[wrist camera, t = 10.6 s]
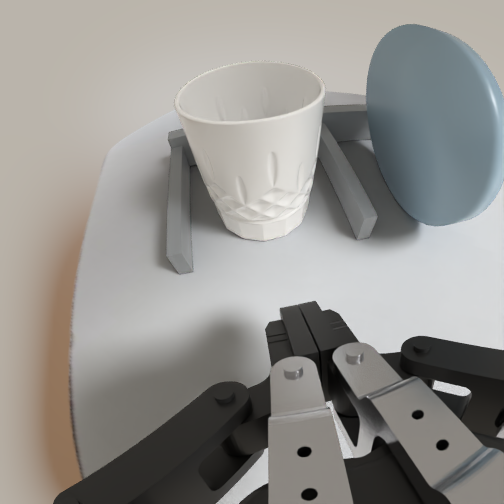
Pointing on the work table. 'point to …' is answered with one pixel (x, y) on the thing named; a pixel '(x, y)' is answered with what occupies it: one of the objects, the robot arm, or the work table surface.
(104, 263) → the work table surface
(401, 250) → the work table surface
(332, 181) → the dish rack
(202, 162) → the white cup
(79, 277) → the work table surface
